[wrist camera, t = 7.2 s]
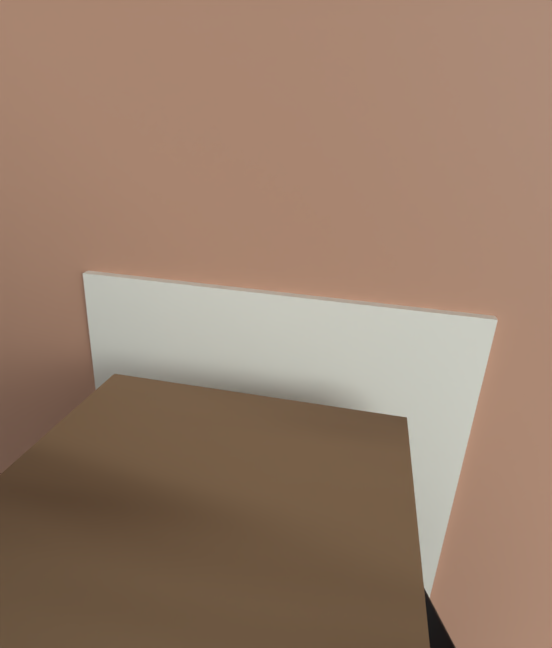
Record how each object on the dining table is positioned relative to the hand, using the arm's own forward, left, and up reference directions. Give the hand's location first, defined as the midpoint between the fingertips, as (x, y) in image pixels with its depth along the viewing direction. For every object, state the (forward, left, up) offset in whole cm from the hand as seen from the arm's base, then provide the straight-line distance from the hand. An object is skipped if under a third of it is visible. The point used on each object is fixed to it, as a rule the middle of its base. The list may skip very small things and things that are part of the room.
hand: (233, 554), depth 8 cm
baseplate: (0, 0, -4) cm, 4 cm away
